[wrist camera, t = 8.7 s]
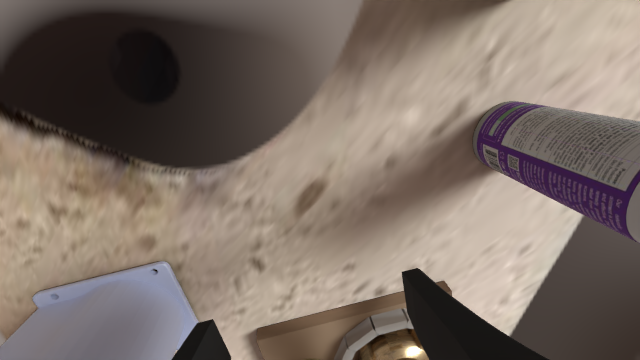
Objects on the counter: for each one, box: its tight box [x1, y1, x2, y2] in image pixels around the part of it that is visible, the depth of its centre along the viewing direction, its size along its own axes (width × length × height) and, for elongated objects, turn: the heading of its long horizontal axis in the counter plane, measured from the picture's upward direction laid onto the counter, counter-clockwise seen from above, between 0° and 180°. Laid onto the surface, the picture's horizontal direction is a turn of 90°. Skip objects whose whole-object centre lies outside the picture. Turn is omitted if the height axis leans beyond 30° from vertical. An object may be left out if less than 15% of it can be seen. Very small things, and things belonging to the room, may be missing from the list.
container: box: [473, 101, 640, 243], centre depth 14 cm, size 5×5×15 cm
